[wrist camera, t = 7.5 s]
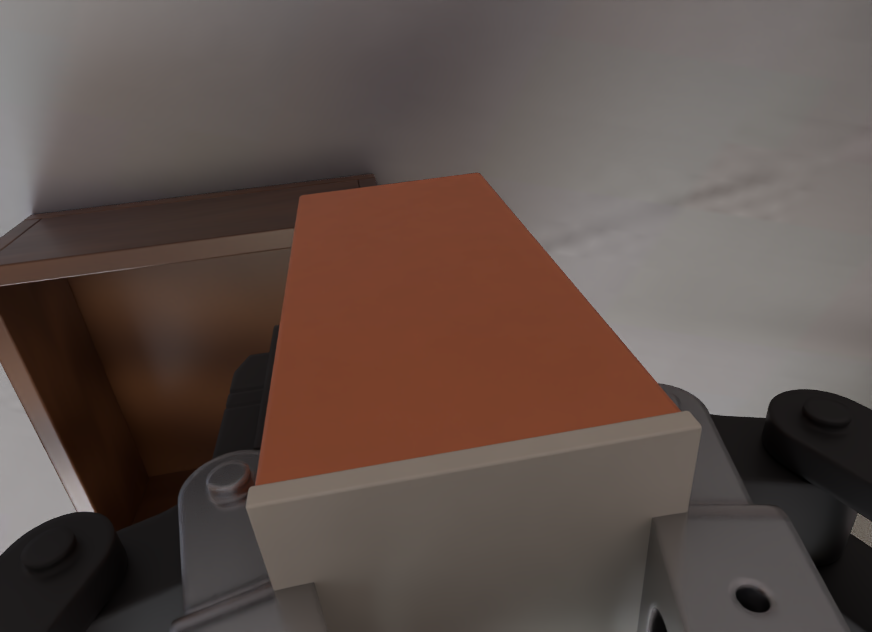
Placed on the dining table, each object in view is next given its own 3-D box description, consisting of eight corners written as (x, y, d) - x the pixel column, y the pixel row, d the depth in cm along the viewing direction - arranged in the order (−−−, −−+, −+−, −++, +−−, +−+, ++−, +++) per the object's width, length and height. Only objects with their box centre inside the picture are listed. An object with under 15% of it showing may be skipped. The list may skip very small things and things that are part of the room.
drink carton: (297, 193, 12) (243, 508, 5) (481, 169, 12) (703, 425, 5) (340, 406, 15) (350, 822, 7) (491, 381, 15) (647, 753, 8)
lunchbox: (30, 214, 26) (-48, 271, 20) (374, 172, 28) (387, 215, 22) (142, 479, 33) (107, 573, 28) (407, 433, 35) (423, 513, 30)
